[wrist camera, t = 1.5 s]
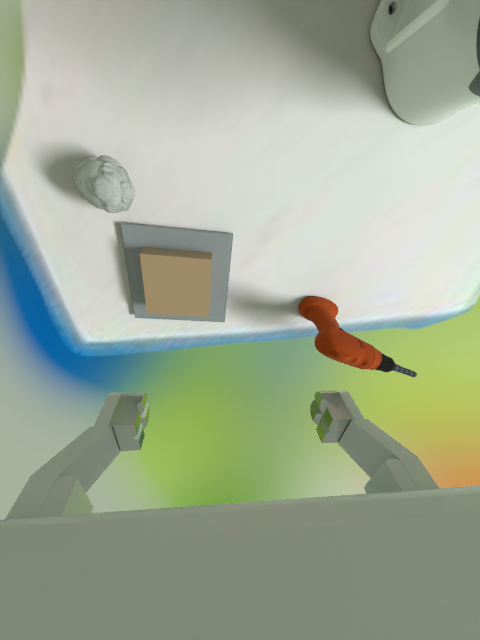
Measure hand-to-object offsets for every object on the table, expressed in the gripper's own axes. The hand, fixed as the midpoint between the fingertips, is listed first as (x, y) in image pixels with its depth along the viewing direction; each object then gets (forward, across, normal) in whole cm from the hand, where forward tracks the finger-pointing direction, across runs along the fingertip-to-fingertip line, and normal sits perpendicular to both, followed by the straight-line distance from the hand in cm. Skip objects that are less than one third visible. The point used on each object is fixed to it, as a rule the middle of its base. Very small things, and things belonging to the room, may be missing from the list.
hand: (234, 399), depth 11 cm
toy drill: (+31, -24, +13) cm, 41 cm away
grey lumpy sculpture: (+31, +14, -6) cm, 34 cm away
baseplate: (+31, +6, +7) cm, 32 cm away
